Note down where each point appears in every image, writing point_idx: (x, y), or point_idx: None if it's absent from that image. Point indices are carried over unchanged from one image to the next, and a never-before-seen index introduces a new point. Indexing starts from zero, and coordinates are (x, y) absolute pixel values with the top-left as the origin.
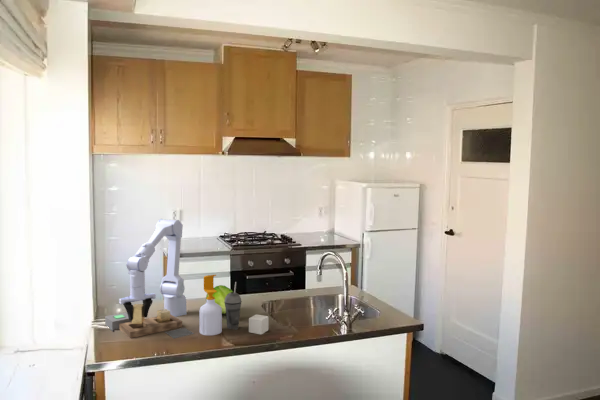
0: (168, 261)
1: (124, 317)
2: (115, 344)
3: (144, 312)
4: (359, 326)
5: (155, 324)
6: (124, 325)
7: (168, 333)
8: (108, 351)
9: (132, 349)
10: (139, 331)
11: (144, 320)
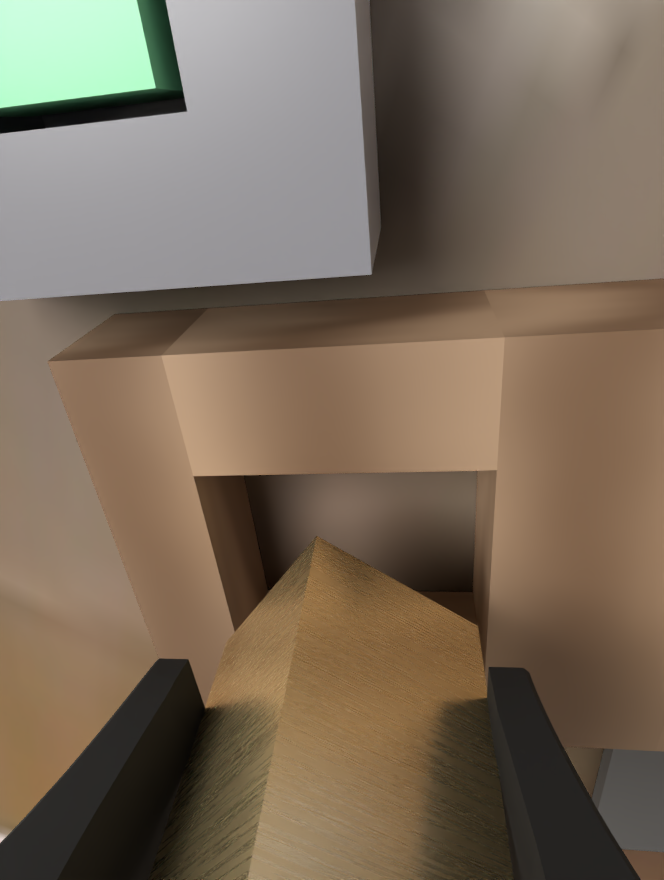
0: None
1: (145, 89)
2: (64, 669)
3: (501, 807)
4: None
5: (599, 685)
6: (136, 486)
7: (631, 753)
8: (12, 746)
9: None
10: None
11: (473, 637)
